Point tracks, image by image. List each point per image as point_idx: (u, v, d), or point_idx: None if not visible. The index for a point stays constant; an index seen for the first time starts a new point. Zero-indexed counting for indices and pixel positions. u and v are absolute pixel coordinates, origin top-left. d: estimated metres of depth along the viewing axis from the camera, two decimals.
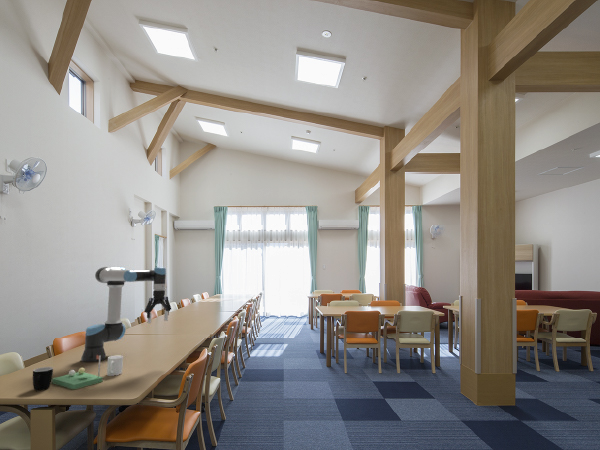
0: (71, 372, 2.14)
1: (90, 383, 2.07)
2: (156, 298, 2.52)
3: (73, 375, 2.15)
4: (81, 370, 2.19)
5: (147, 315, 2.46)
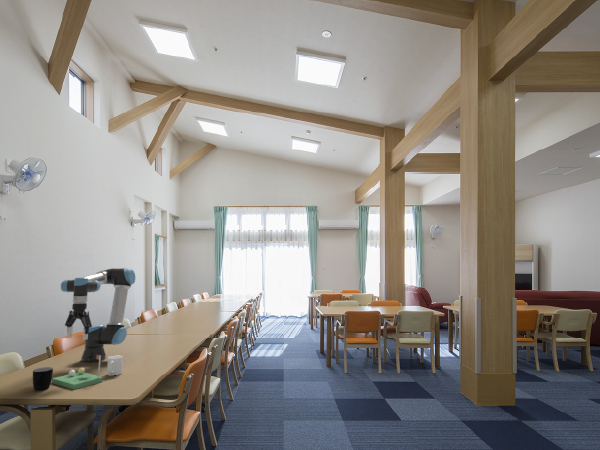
0: (71, 372, 2.14)
1: (90, 383, 2.07)
2: (74, 312, 2.27)
3: (73, 375, 2.15)
4: (81, 370, 2.19)
5: None
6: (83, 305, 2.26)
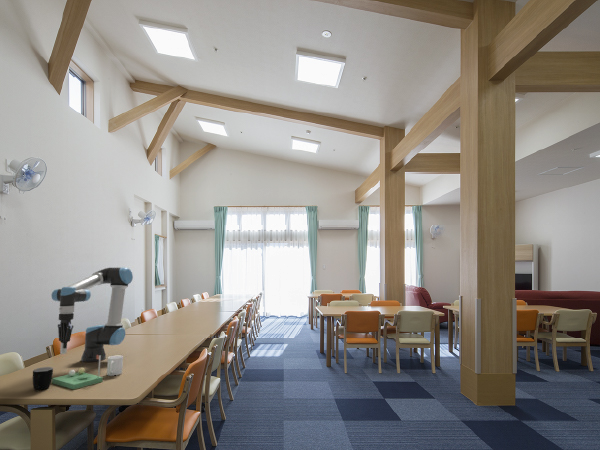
0: (71, 372, 2.14)
1: (90, 383, 2.07)
2: (61, 322, 2.24)
3: (73, 375, 2.15)
4: (81, 370, 2.19)
5: None
6: (69, 315, 2.21)
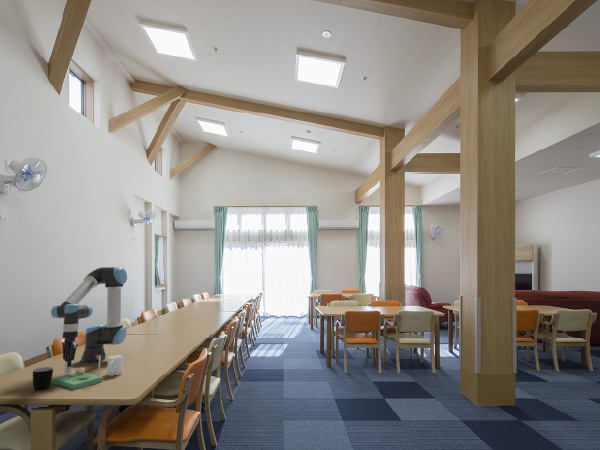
0: (71, 372, 2.14)
1: (90, 383, 2.07)
2: (65, 340, 2.20)
3: (73, 375, 2.15)
4: (81, 370, 2.19)
5: None
6: (73, 333, 2.17)
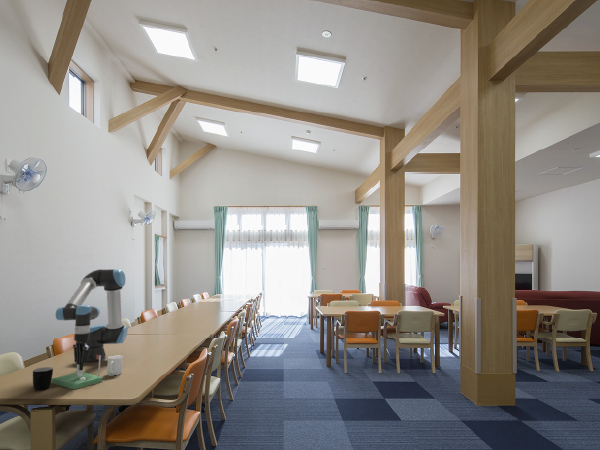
0: (82, 379, 2.09)
1: (90, 383, 2.07)
2: (76, 342, 2.14)
3: None
4: None
5: None
6: (85, 336, 2.11)
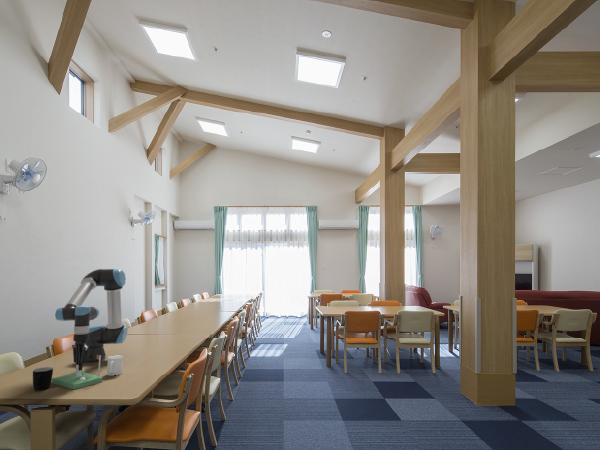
0: (82, 379, 2.08)
1: (90, 383, 2.07)
2: (75, 342, 2.14)
3: None
4: None
5: None
6: (84, 336, 2.12)
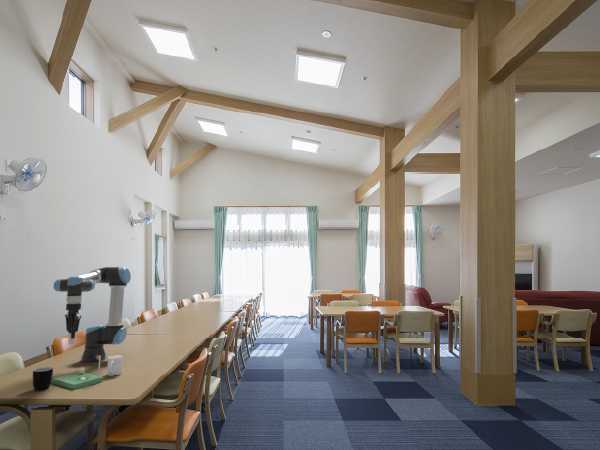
0: None
1: (90, 383, 2.07)
2: (68, 312, 2.21)
3: None
4: (81, 370, 2.19)
5: None
6: (76, 305, 2.19)
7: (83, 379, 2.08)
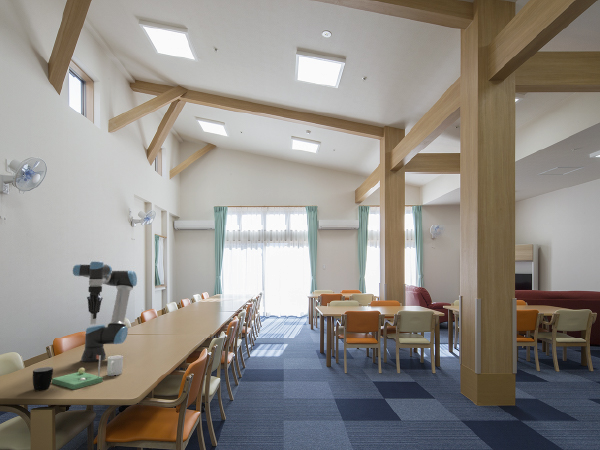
0: None
1: (90, 383, 2.07)
2: (90, 294, 2.37)
3: None
4: (81, 370, 2.19)
5: None
6: (98, 288, 2.35)
7: None
